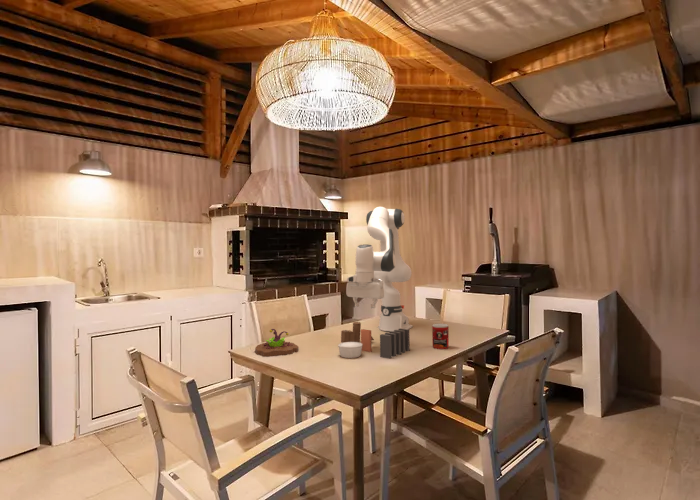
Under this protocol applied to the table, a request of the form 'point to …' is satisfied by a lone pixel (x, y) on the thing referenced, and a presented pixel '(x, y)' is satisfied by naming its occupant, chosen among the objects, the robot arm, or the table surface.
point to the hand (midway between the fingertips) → (365, 307)
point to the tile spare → (366, 340)
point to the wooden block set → (352, 334)
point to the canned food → (440, 336)
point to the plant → (276, 346)
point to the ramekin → (350, 349)
